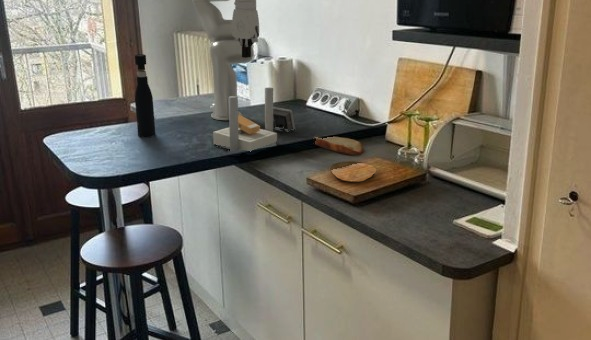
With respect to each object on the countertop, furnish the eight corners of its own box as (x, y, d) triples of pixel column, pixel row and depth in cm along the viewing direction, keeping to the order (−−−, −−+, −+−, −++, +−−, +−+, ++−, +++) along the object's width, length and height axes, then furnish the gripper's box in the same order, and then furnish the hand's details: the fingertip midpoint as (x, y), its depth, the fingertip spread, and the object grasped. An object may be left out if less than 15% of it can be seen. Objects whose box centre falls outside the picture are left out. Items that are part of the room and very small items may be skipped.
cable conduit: (224, 154, 196) (222, 97, 189) (234, 150, 200) (233, 94, 193) (234, 157, 193) (233, 99, 186) (244, 153, 197) (243, 97, 190)
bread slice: (311, 140, 213) (311, 130, 212) (359, 140, 213) (360, 131, 212) (312, 156, 197) (312, 145, 195) (364, 156, 197) (365, 146, 195)
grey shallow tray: (213, 145, 205) (213, 128, 203) (240, 136, 215) (240, 120, 213) (250, 156, 195) (249, 138, 192) (276, 146, 205) (277, 129, 203)
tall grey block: (259, 142, 209) (259, 88, 202) (268, 139, 213) (268, 86, 206) (269, 145, 206) (269, 90, 199) (278, 141, 210) (278, 88, 203)
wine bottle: (159, 133, 217) (153, 54, 207) (148, 138, 212) (141, 57, 201) (145, 131, 220) (138, 53, 209) (134, 136, 214) (127, 55, 204)
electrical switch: (295, 131, 223) (294, 108, 219) (288, 135, 219) (287, 112, 215) (276, 127, 228) (274, 105, 224) (268, 131, 224) (267, 109, 220)
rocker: (229, 122, 203) (230, 117, 202) (239, 119, 207) (240, 114, 206) (249, 134, 198) (250, 128, 197) (259, 131, 202) (260, 125, 201)
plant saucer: (322, 181, 175) (323, 173, 174) (336, 165, 188) (336, 158, 187) (369, 188, 170) (370, 180, 169) (380, 172, 183) (381, 164, 182)
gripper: (223, 4, 206) (224, 56, 212) (253, 8, 197) (254, 61, 204) (238, 3, 211) (239, 53, 218) (268, 6, 202) (268, 58, 209)
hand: (246, 57), depth 211 cm, fingers closed
